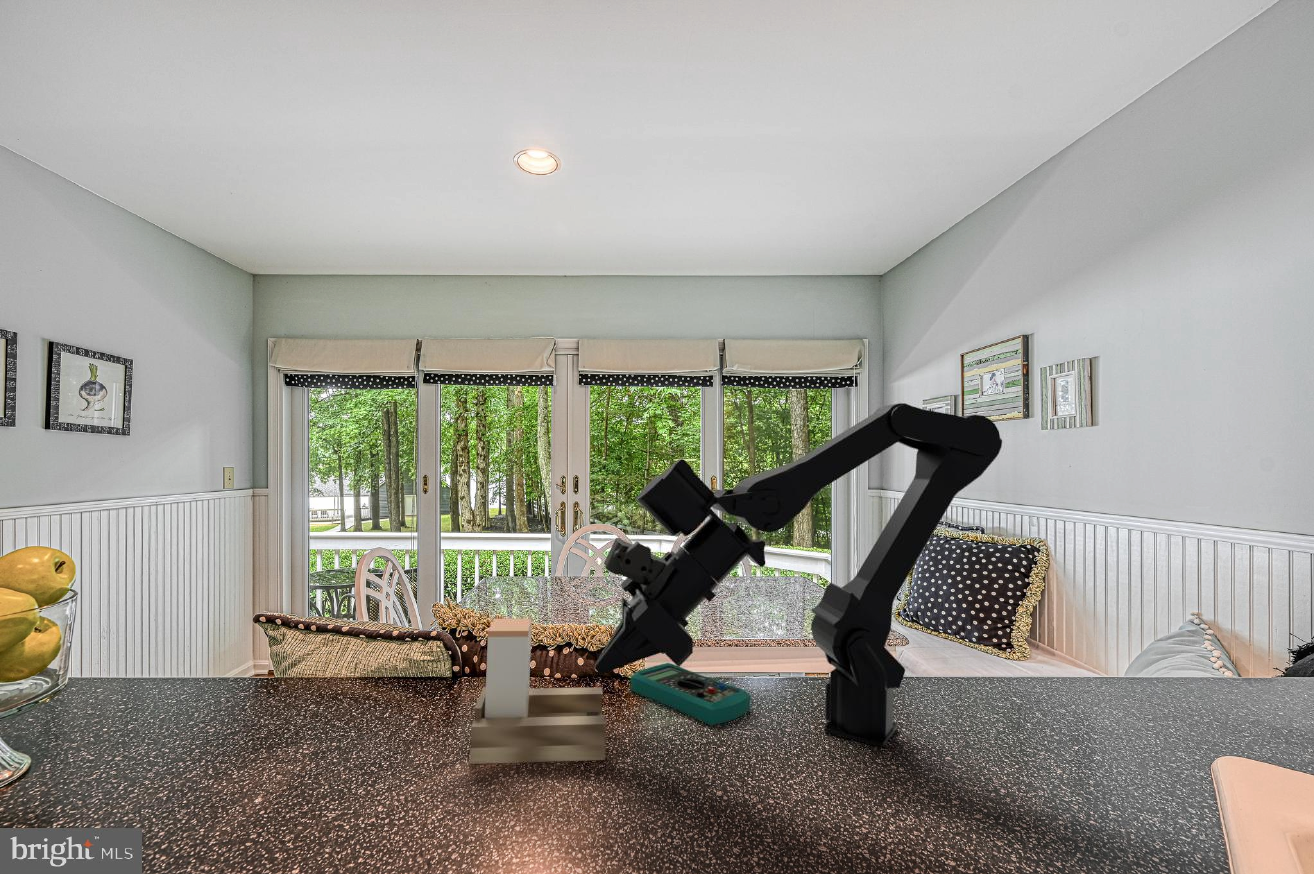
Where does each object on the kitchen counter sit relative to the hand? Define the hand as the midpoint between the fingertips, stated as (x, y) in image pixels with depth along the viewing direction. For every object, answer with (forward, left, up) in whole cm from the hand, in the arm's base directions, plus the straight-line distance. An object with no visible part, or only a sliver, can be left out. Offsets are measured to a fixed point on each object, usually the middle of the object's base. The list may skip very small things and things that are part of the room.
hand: (597, 670), depth 67 cm
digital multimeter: (-2, -16, -8) cm, 17 cm away
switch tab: (+7, +6, -5) cm, 11 cm away
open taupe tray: (+4, +4, -7) cm, 9 cm away
